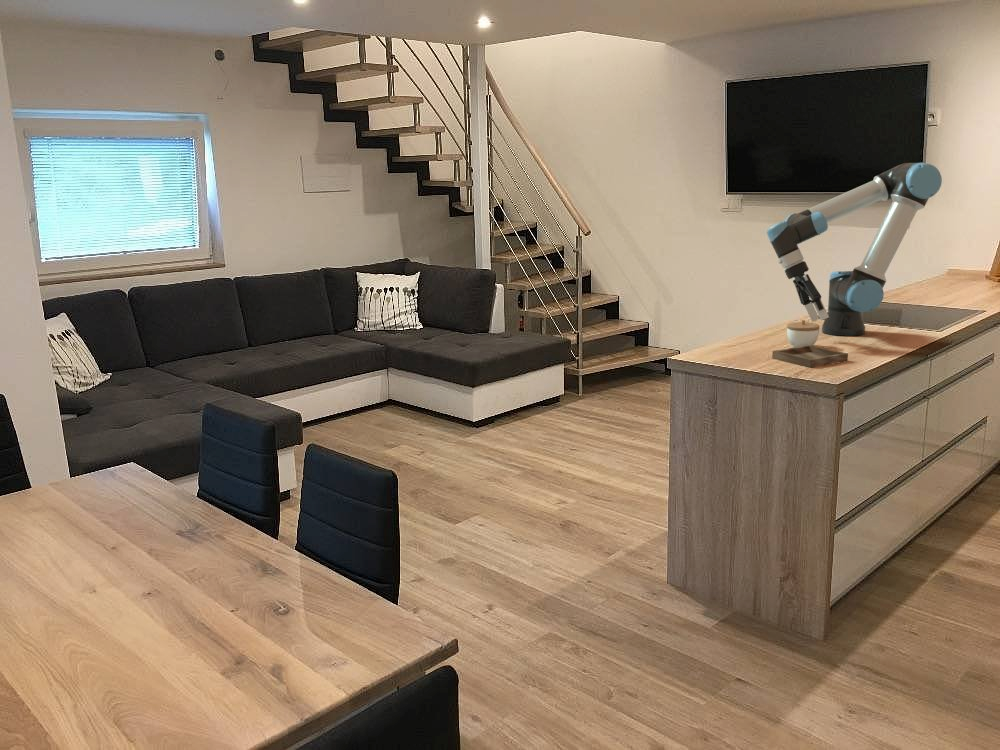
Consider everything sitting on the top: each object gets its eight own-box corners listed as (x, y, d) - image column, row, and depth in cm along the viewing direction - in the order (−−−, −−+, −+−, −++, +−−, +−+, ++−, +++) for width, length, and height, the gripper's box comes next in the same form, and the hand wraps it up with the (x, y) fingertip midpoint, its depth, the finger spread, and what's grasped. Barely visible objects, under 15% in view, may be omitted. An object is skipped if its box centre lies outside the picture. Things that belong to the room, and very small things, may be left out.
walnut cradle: (808, 352, 296) (809, 345, 295) (847, 361, 282) (848, 353, 281) (772, 358, 289) (772, 350, 288) (810, 367, 275) (810, 360, 274)
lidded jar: (820, 350, 299) (822, 323, 297) (787, 349, 301) (789, 323, 299) (815, 343, 309) (817, 317, 307) (784, 343, 311) (785, 317, 309)
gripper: (777, 273, 319) (802, 325, 318) (791, 265, 294) (818, 322, 293) (796, 264, 318) (821, 316, 317) (812, 255, 293) (839, 313, 292)
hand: (820, 319), depth 305 cm, fingers open, 13 cm apart
